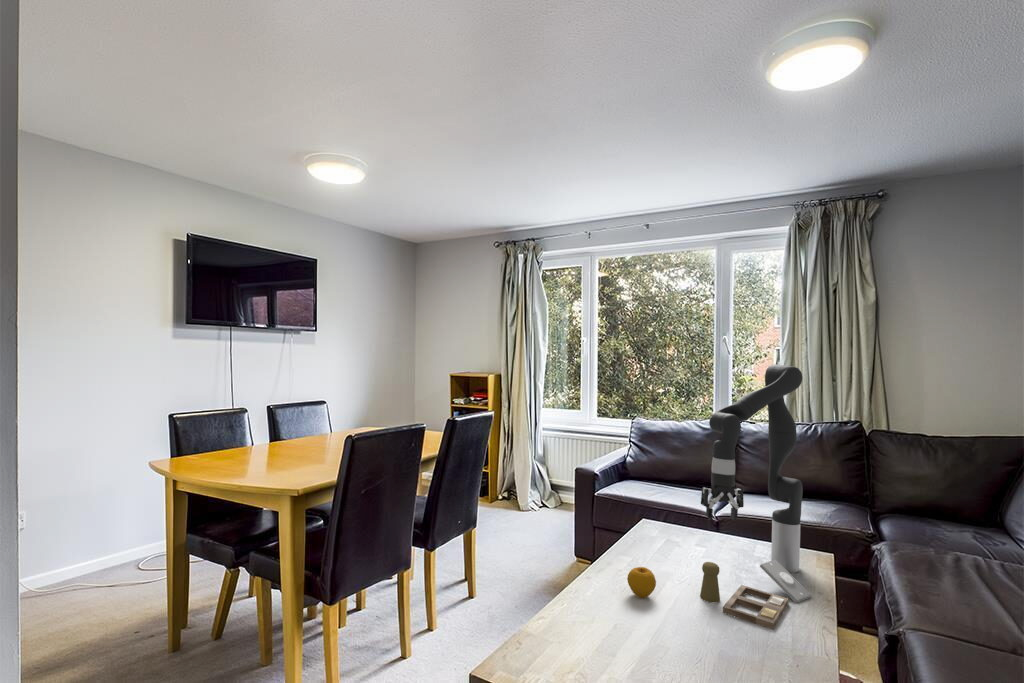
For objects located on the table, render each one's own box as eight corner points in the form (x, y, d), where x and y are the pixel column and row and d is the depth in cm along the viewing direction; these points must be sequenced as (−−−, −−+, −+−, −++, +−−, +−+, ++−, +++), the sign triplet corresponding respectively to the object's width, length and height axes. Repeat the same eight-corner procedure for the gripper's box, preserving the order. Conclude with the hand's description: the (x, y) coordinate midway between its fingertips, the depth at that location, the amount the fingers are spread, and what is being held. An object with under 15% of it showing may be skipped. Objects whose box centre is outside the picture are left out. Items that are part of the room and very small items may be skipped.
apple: (633, 587, 171) (634, 559, 171) (659, 595, 166) (660, 567, 166) (622, 596, 164) (623, 568, 164) (649, 605, 159) (650, 576, 159)
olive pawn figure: (696, 593, 168) (697, 559, 168) (714, 593, 168) (715, 559, 169) (705, 602, 162) (706, 567, 162) (723, 602, 162) (724, 567, 163)
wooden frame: (741, 590, 171) (741, 583, 171) (788, 604, 163) (788, 597, 163) (722, 612, 156) (722, 605, 156) (773, 629, 147) (773, 621, 147)
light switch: (799, 598, 163) (761, 561, 174) (789, 611, 165) (753, 574, 176) (813, 593, 168) (776, 557, 179) (804, 605, 170) (768, 569, 181)
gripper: (736, 469, 182) (735, 516, 181) (698, 468, 181) (696, 515, 180) (748, 474, 175) (747, 523, 174) (709, 473, 173) (707, 522, 172)
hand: (721, 519), depth 177 cm, fingers open, 8 cm apart
